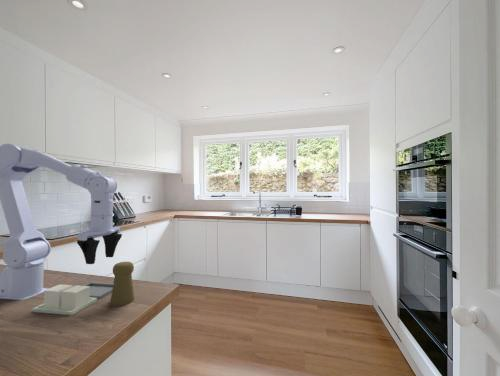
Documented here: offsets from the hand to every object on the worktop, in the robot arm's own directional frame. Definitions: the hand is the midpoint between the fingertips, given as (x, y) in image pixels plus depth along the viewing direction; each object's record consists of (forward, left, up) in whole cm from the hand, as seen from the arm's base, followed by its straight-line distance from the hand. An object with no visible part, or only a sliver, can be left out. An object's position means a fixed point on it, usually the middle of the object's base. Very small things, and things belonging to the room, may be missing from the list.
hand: (100, 260), depth 71 cm
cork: (+11, -5, -10) cm, 16 cm away
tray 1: (-2, -10, -10) cm, 14 cm away
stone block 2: (+1, -9, -9) cm, 13 cm away
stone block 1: (-4, -10, -9) cm, 14 cm away
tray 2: (-2, 0, -10) cm, 10 cm away
